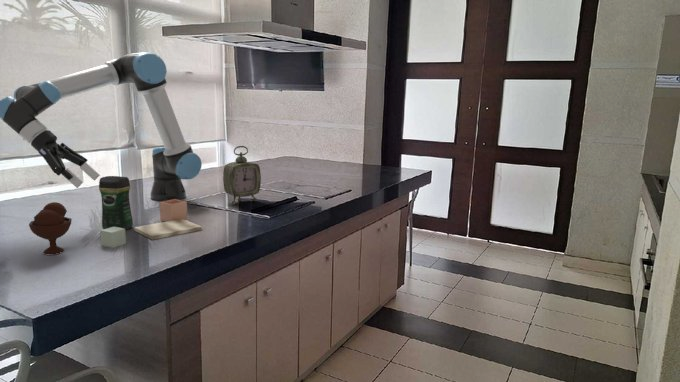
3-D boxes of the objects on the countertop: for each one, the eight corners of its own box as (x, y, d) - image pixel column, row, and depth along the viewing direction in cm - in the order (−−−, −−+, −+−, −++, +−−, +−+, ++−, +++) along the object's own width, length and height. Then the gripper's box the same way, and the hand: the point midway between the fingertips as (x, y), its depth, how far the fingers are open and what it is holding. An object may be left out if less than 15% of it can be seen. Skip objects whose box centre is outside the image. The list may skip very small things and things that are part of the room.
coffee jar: (136, 226, 176) (133, 175, 172) (123, 232, 168) (119, 178, 165) (112, 224, 178) (108, 173, 174) (98, 230, 170) (94, 177, 166)
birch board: (182, 221, 183) (182, 218, 182) (201, 229, 173) (201, 226, 173) (134, 230, 170) (134, 227, 170) (151, 239, 160) (151, 236, 160)
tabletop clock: (232, 206, 208) (230, 147, 203) (221, 202, 215) (220, 145, 210) (261, 201, 218) (260, 145, 213) (250, 198, 225) (249, 143, 220)
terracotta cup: (176, 216, 190) (175, 199, 189) (187, 219, 186) (186, 201, 185) (160, 220, 185) (159, 202, 183) (171, 223, 181) (171, 204, 179)
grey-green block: (114, 241, 158) (113, 226, 157) (126, 243, 156) (124, 228, 155) (101, 245, 154) (100, 230, 153) (112, 248, 152) (111, 232, 151)
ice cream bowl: (43, 246, 151) (38, 199, 148) (80, 246, 152) (76, 199, 149) (24, 257, 141) (18, 207, 138) (64, 257, 142) (60, 207, 139)
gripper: (50, 140, 177) (96, 182, 181) (10, 148, 152) (64, 196, 157) (64, 126, 176) (110, 168, 180) (26, 132, 152) (80, 180, 156)
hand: (89, 181), depth 168 cm, fingers open, 13 cm apart
